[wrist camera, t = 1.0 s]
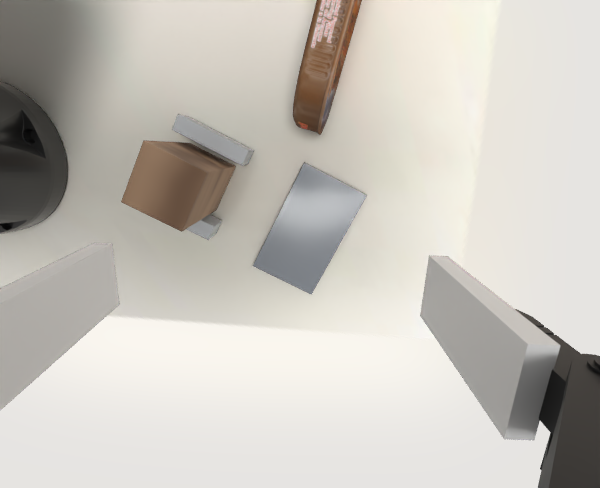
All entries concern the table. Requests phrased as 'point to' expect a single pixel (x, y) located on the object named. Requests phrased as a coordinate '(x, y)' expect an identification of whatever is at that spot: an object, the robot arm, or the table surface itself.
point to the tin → (323, 61)
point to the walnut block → (177, 183)
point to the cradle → (218, 144)
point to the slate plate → (309, 228)
